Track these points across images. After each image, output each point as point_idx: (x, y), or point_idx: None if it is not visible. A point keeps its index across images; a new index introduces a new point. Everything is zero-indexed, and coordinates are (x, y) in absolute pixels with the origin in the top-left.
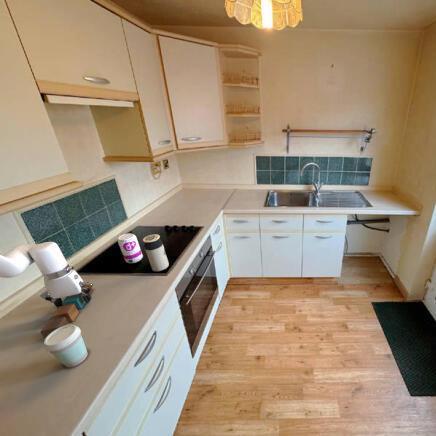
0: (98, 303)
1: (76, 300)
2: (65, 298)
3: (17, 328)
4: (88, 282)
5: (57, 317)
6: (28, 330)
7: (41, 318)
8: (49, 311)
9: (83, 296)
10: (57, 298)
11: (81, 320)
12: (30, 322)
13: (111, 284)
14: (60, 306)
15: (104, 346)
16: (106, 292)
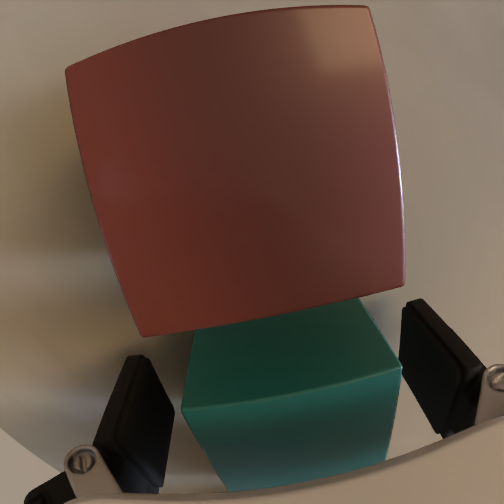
0: (460, 321)
1: None
2: (217, 463)
3: (32, 434)
4: (368, 25)
5: None
6: None
7: (79, 410)
8: (61, 359)
9: (446, 433)
10: (126, 480)
11: (389, 444)
12: (48, 419)
13: (469, 31)
14: (165, 417)
15: None
16: (484, 169)
